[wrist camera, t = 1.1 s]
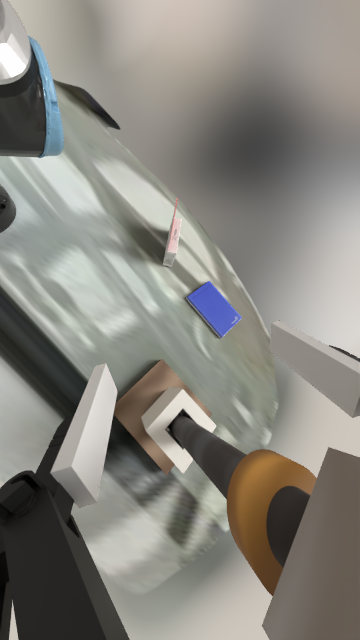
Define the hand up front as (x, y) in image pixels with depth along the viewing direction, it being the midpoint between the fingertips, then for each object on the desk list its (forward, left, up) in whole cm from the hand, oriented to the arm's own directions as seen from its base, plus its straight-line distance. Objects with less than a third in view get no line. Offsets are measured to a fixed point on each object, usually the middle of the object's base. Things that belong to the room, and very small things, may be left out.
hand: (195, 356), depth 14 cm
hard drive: (-1, +20, -24) cm, 31 cm away
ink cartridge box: (-20, +23, -23) cm, 39 cm away
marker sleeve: (+6, -4, -17) cm, 19 cm away
